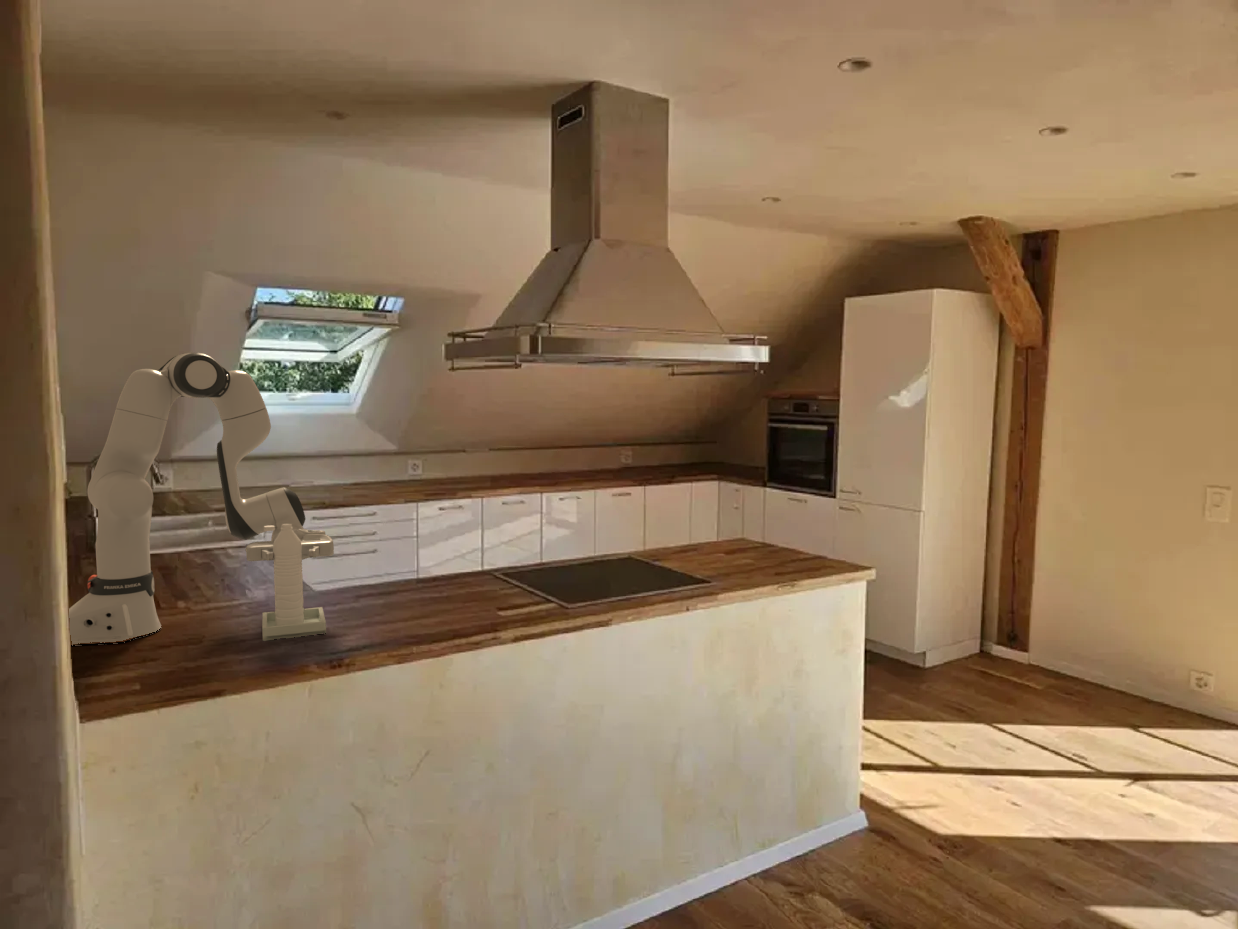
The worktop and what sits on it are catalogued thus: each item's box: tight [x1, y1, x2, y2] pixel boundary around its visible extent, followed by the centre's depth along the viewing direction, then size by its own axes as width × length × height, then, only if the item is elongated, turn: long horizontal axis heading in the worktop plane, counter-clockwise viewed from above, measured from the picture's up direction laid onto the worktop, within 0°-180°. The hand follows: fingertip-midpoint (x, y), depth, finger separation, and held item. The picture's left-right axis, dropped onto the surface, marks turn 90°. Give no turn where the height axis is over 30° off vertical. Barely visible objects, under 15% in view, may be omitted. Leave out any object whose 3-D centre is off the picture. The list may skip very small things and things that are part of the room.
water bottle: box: [264, 524, 305, 626], centre depth 203 cm, size 9×6×25 cm
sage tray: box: [261, 606, 327, 642], centre depth 205 cm, size 14×14×3 cm
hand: (291, 555), depth 202 cm, fingers open, 8 cm apart
